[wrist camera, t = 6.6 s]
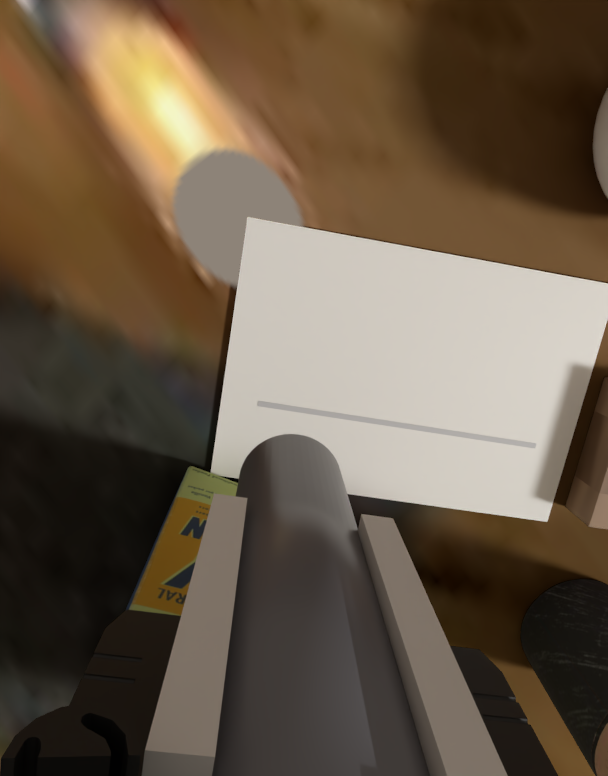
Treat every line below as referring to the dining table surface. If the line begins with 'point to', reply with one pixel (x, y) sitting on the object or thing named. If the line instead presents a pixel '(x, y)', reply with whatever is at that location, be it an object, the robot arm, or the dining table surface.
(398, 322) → the paper
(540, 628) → the travel mug
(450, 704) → the robot arm
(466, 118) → the dining table surface
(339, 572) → the marker
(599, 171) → the lidded jar
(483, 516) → the dining table surface
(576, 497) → the pen holder
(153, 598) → the protein box
